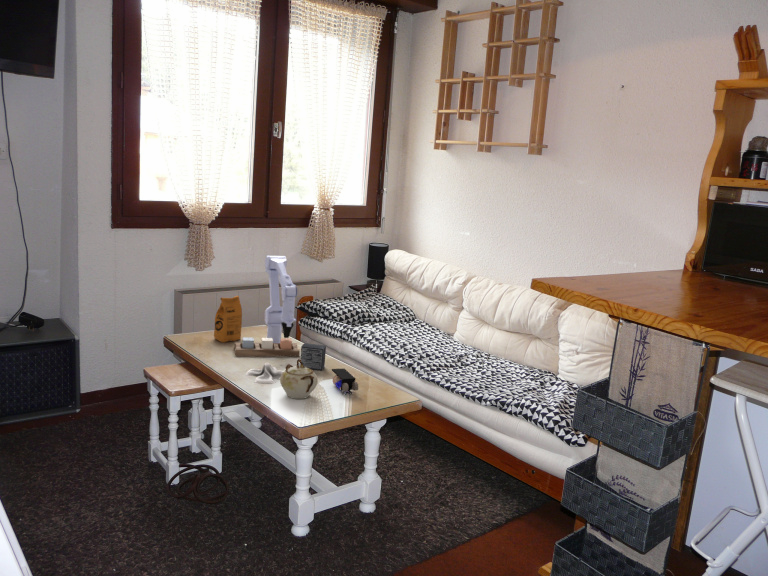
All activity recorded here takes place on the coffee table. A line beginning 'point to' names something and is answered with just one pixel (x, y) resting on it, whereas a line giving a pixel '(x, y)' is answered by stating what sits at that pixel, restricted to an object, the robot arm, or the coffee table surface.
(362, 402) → the coffee table surface
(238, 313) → the coffee package
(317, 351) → the small box
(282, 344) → the terracotta block
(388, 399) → the coffee table surface
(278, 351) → the block rack
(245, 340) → the slate block
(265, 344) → the cream block
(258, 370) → the cloth
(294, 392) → the sugar bowl
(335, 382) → the figurine character
